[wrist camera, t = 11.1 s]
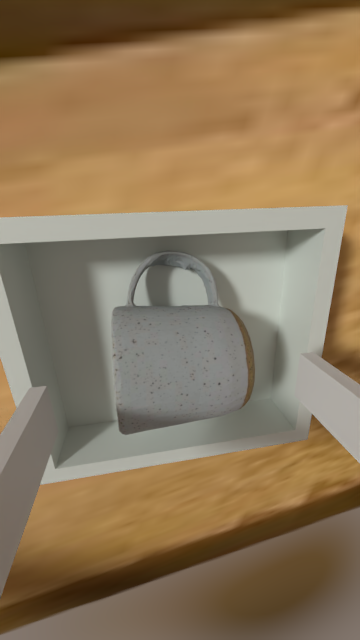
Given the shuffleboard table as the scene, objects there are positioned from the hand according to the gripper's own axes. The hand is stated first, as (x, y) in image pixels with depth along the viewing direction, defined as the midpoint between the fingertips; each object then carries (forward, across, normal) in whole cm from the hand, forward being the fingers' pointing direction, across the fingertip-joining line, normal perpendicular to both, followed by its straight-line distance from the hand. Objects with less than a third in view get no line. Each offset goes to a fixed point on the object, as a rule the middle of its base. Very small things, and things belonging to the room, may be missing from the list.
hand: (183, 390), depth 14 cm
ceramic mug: (+8, 0, +1) cm, 8 cm away
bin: (+8, 0, 0) cm, 8 cm away
